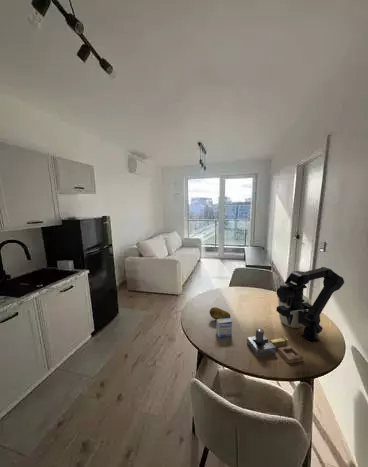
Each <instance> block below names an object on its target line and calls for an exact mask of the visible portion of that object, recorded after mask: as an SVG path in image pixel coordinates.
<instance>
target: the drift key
mask: <svg viewBox="0 0 368 467" xmlns="http://www.w3.org/2000/svg"><path fill="white" fill-rule="evenodd" d="M289 340H290V339H288V337H287V336H286V335H283V336H282V337H281V338H275V339H270V340H269V343H272V344H273V345H274V346H275V347H276V348H281V347H287V346H289Z"/></svg>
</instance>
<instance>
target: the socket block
mask: <svg viewBox="0 0 368 467" xmlns="http://www.w3.org/2000/svg"><path fill="white" fill-rule="evenodd" d="M255 343H256V335H255V336H248V337H246V344H247V345H248V347H249V348H250V350H251V351H252V352H253V354H254V355H255V356H256V357H257V358H258V357H264V356H270V355H274V354H276V350H277V347H275V346H274V345H273V344H272V343H270V342H269V339H268V337H267V336H266V335H265V334H264V335H263V346H257V345H256V344H255Z"/></svg>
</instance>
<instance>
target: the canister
mask: <svg viewBox="0 0 368 467" xmlns="http://www.w3.org/2000/svg"><path fill="white" fill-rule="evenodd" d="M276 296H277V295H276ZM277 299H278V303H277V304H278V306H283V305H284V306H285V307H286V308H289V306H287V304H285V303H282V302H280V300H279V298H278V296H277ZM303 300H304V302H302V303H306V302H307V303H309V304H310V305H311V302H312V301H311V299H310V298H309V297H307V296H306V295H305V294H303ZM307 310H308V309H307ZM278 314H279V320H280V322H281V323H282V324H283V325H285V326H287V327H290V328H293V329H299V328H301V327H303V326H304V325H302V323H300V324H299V323H298V311H293V312H292V313H291V314H292V315H293V319H292V322H291V325H289V324H288V322H287V319H286V316H282V315H281V314H280V313H278Z"/></svg>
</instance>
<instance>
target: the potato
mask: <svg viewBox="0 0 368 467" xmlns="http://www.w3.org/2000/svg"><path fill="white" fill-rule="evenodd" d="M209 315H210V317H211V318H212V319H213V320H215V321H216V320H217V319H225V318H230V319H231V314H230V313H229V312H228V311H227V310H226V311H225V310H224V309H221V308H219V307H215V306H214V307H211V308H210V309H209Z"/></svg>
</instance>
